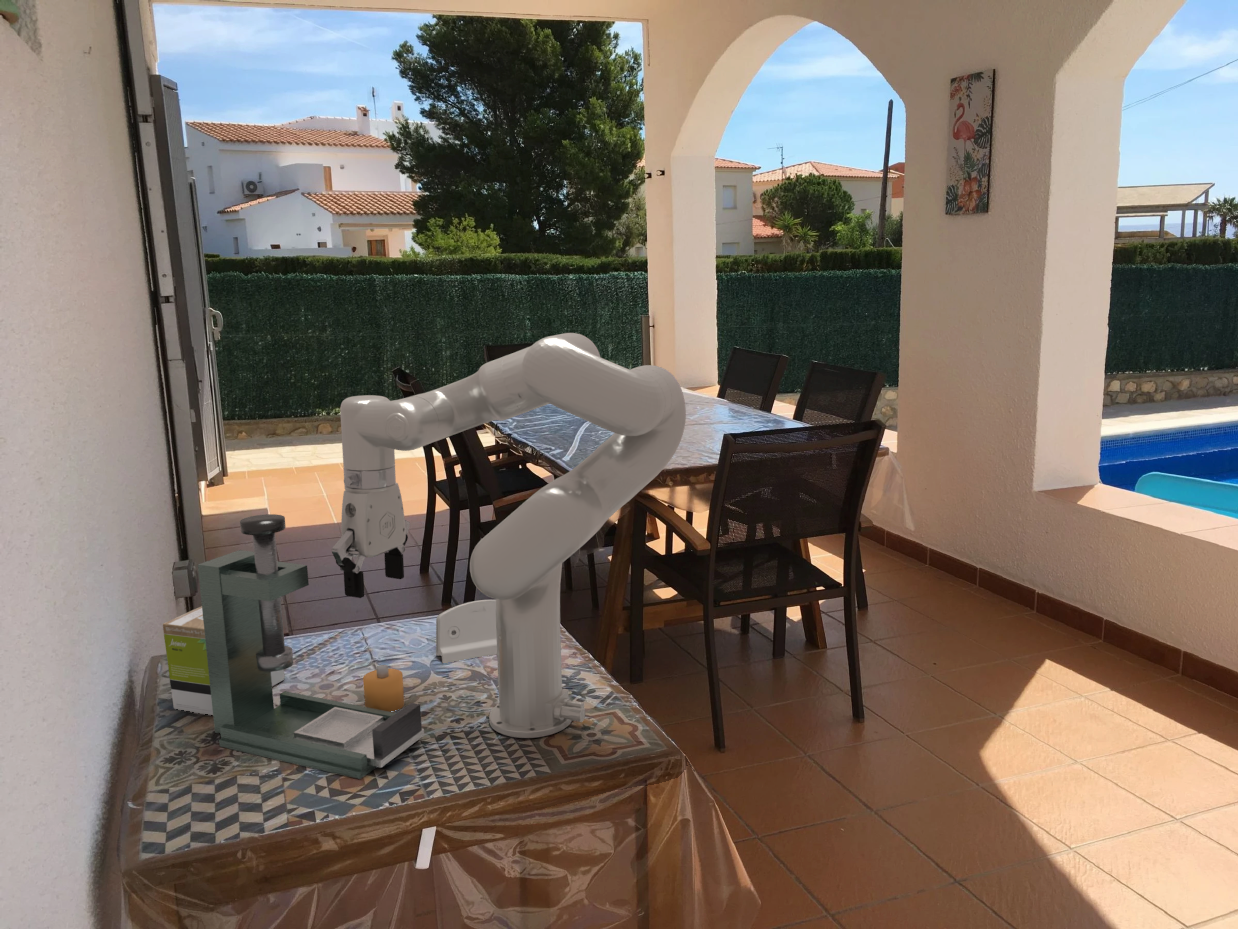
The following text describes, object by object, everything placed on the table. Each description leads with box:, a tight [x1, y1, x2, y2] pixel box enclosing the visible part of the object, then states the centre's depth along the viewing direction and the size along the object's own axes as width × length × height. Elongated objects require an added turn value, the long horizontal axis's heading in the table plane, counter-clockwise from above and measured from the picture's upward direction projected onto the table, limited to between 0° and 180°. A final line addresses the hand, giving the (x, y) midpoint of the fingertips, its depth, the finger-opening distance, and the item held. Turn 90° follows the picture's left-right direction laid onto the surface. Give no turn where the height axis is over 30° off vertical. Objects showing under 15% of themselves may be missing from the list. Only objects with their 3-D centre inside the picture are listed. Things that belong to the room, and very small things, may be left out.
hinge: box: [435, 599, 497, 664], centre depth 172 cm, size 17×5×10 cm, turn 114°
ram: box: [239, 513, 294, 672], centre depth 138 cm, size 6×6×22 cm
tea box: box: [162, 605, 286, 716], centre depth 153 cm, size 15×10×15 cm, turn 161°
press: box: [197, 549, 397, 780], centre depth 137 cm, size 29×14×26 cm, turn 67°
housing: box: [362, 664, 405, 712], centre depth 149 cm, size 6×6×6 cm
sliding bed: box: [294, 702, 425, 768], centre depth 136 cm, size 15×10×5 cm, turn 67°
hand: (375, 586), depth 147 cm, fingers open, 9 cm apart
